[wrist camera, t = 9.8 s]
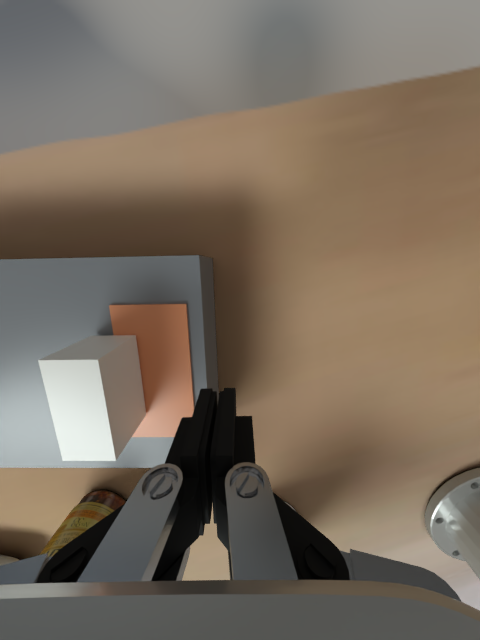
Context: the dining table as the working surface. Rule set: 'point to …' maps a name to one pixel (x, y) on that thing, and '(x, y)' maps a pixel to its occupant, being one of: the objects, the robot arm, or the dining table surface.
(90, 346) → the switch knob
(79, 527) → the sauce bottle
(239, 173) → the dining table surface
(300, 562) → the robot arm
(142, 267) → the switch box
